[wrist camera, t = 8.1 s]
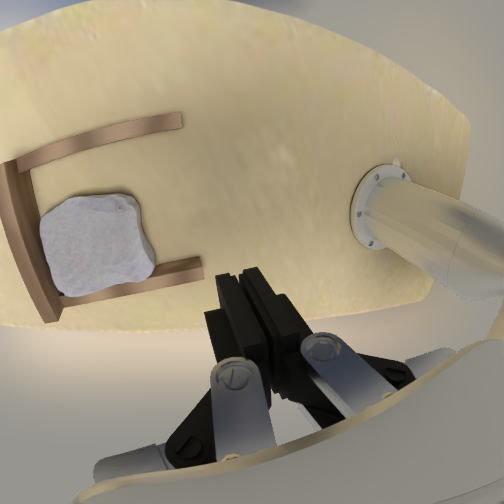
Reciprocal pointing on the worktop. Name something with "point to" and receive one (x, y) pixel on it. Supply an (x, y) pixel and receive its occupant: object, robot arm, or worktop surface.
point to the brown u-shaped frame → (28, 221)
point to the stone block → (96, 243)
